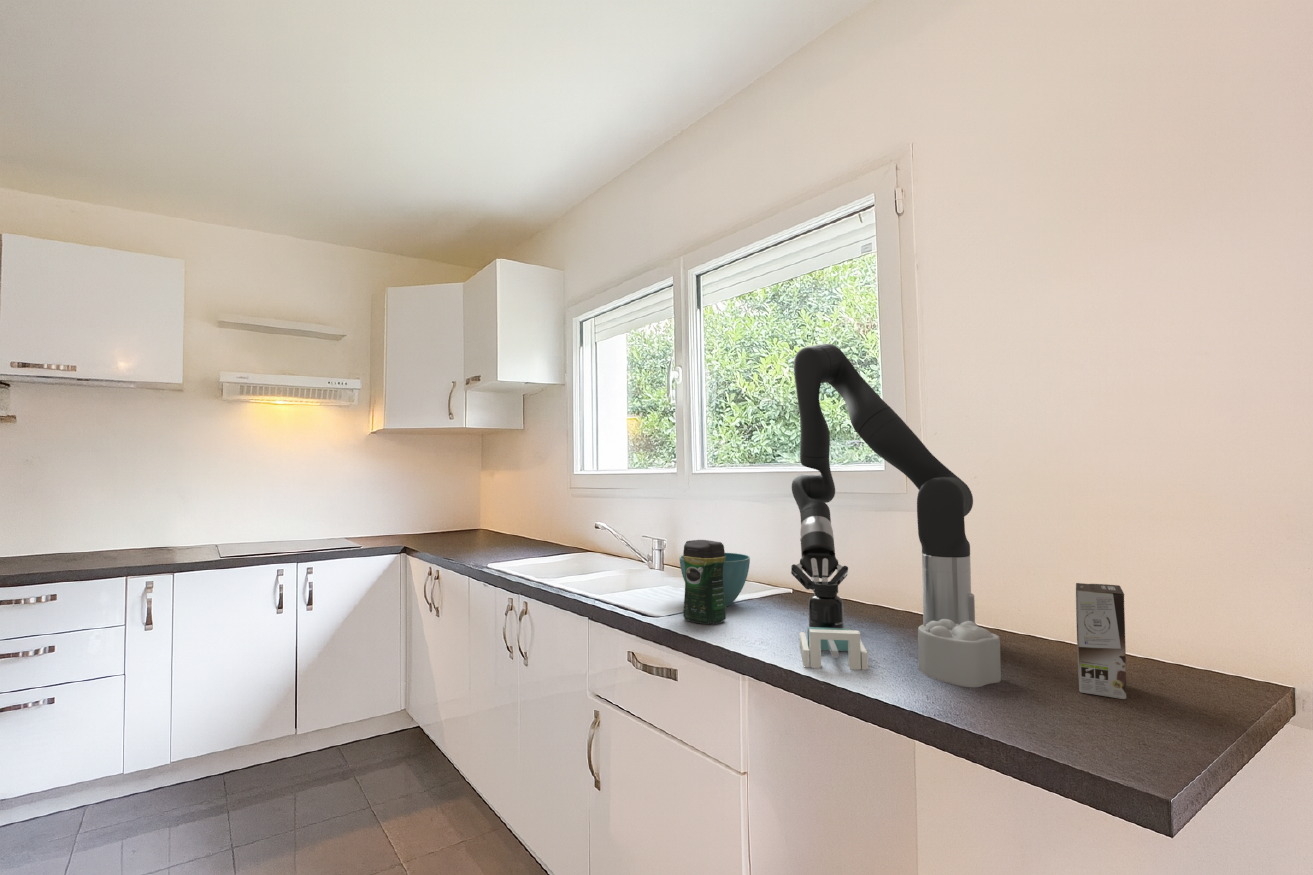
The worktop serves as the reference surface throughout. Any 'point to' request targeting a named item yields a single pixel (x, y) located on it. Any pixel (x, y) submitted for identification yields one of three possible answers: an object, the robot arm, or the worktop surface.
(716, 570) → the coffee jar
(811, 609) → the supplement bottle
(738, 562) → the teal bowl
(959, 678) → the lumpy-topped squat cylinder
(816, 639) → the white stand with panel
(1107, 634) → the coffee box
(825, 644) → the pusher
